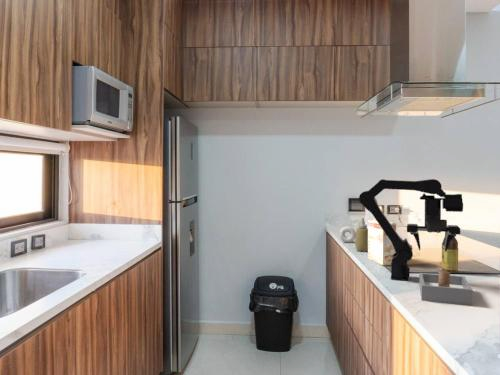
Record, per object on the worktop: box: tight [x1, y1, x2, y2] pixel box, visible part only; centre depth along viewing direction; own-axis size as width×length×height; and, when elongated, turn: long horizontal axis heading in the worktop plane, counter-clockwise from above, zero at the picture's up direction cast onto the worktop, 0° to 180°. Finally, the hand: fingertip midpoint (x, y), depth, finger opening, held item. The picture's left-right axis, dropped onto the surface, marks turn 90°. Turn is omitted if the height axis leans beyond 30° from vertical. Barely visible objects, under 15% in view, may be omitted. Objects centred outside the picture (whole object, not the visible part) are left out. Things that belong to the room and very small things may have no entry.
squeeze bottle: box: [354, 217, 368, 253], centre depth 210 cm, size 8×8×18 cm
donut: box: [338, 226, 356, 244], centre depth 235 cm, size 10×4×10 cm, turn 75°
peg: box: [438, 270, 451, 287], centre depth 134 cm, size 4×4×8 cm
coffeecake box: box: [367, 219, 397, 266], centre depth 184 cm, size 15×7×20 cm, turn 9°
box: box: [418, 272, 474, 306], centre depth 134 cm, size 15×17×5 cm
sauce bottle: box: [441, 232, 459, 274], centre depth 164 cm, size 7×6×20 cm
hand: (432, 250), depth 151 cm, fingers open, 9 cm apart
